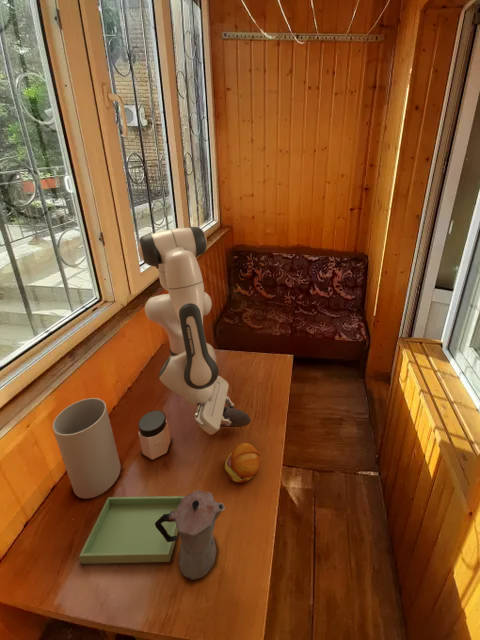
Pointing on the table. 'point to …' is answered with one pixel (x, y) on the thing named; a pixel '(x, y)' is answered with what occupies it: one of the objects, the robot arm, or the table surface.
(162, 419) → the jar
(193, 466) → the table surface
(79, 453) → the cylinder vase
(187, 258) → the robot arm
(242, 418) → the perforated stone tool
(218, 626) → the table surface
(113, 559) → the tray
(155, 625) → the table surface
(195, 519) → the moka pot
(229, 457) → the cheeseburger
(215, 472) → the table surface
